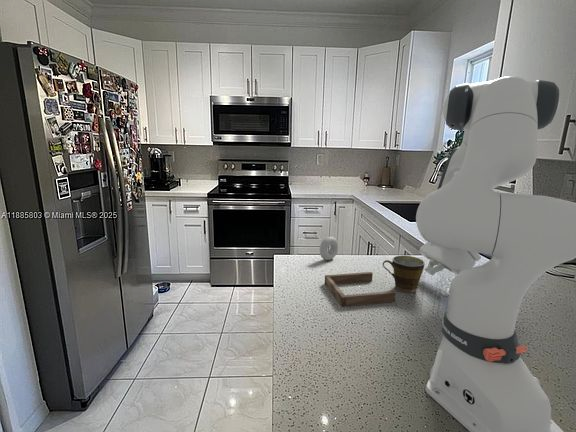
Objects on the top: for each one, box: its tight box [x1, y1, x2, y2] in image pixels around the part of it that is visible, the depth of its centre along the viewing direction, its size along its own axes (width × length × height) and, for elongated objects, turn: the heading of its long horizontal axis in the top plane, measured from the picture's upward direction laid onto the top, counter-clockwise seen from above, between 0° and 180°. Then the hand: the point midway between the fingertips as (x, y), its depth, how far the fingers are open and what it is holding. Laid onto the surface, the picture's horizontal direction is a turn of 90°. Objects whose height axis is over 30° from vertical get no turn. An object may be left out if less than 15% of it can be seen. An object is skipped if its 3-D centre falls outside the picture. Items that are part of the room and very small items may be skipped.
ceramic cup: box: [382, 255, 426, 294], centre depth 105 cm, size 13×10×10 cm
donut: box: [319, 236, 339, 261], centre depth 131 cm, size 10×4×10 cm, turn 131°
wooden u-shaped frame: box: [324, 271, 396, 307], centre depth 103 cm, size 16×17×3 cm
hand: (428, 272), depth 107 cm, fingers closed
